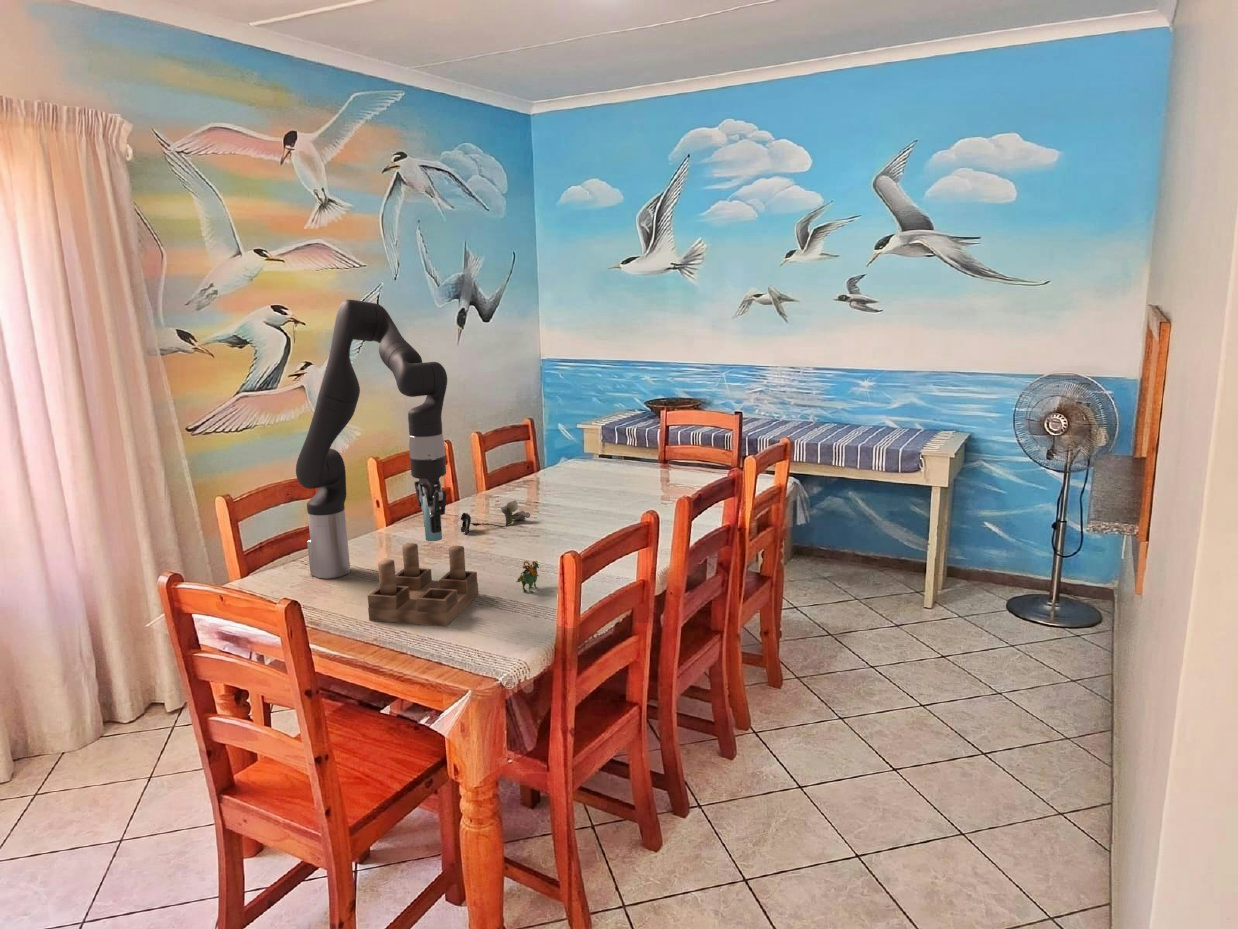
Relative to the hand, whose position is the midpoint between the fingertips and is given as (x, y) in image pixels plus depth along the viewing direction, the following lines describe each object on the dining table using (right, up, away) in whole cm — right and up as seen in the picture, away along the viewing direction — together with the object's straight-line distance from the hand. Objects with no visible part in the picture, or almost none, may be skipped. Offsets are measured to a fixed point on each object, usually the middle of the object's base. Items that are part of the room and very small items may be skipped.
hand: (432, 529), depth 182 cm
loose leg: (0, -2, +1) cm, 2 cm away
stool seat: (-4, -19, +12) cm, 23 cm away
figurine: (+19, -17, +20) cm, 33 cm away
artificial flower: (+3, -5, +75) cm, 75 cm away
